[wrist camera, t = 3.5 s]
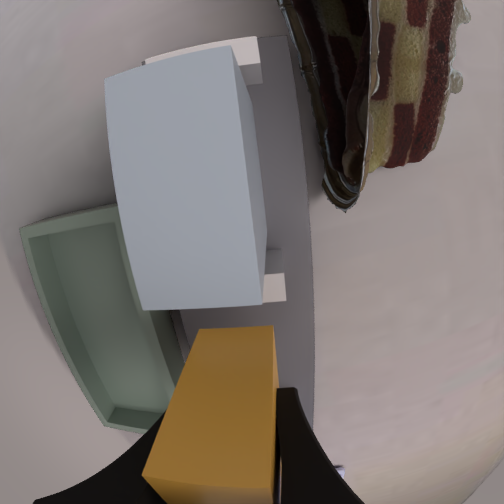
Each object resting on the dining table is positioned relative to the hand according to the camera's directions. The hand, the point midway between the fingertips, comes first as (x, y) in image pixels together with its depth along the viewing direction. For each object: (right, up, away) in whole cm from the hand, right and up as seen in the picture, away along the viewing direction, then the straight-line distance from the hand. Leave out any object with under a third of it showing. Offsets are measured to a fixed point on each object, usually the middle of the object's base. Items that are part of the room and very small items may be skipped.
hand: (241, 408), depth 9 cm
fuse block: (0, +2, +5) cm, 5 cm away
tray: (-7, +1, +6) cm, 9 cm away
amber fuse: (0, +1, +1) cm, 2 cm away
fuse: (-1, +9, +2) cm, 9 cm away
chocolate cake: (+6, +14, +1) cm, 15 cm away
